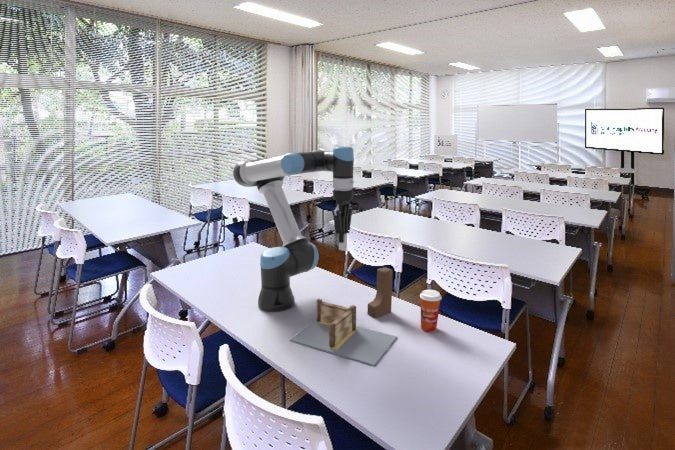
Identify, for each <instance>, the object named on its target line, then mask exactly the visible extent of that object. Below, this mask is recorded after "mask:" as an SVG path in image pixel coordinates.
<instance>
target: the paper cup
mask: <svg viewBox="0 0 675 450" xmlns="http://www.w3.org/2000/svg"><path fill="white" fill-rule="evenodd" d="M419 297H420V329H421V330H422V331H424V332H427V333H433V332H436V331H437V328H438V327H437V326H438V320H439V315H440V314H439V313H440V312H439V311H440V303H441V300H442V299H443V298H442V295H441V294H440V292H439V291H438V290H435V289H425V290H422V291H421V292H420V294H419Z"/></svg>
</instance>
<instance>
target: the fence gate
mask: <svg viewBox="0 0 675 450" xmlns="http://www.w3.org/2000/svg"><path fill="white" fill-rule="evenodd" d="M351 331H352V311H350V310H348V311H347V312H346V313H344V314H343V315H342V316H340V317H339V318H338V319H336V320H335V321H334V322H332V323H330V324H329V346H330V347H335V345H336V344H337V343H338V342H339V341H340V340H342V339H343V338H344V337H345V336H346V335H348V334H349V333H350V332H351Z"/></svg>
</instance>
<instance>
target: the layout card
mask: <svg viewBox="0 0 675 450" xmlns="http://www.w3.org/2000/svg"><path fill="white" fill-rule="evenodd" d="M397 338H398V336H397V335H394V334H393V335H392V334H389V333H385V332H381V331H379V330H378V331H377V330H373V329H369V328H366V327H361V326H359V325H356V330H355V331H351V332H350V333H349V334H348V335H346V336H345V337H344V338H343V339H342V340H340V341H339V342H338V343H337V344H336V345H335V347H330V346H329V324H327V323H323V322H317V318H316V319H314V320H313V321H312V322H310V323H309V324H308V325H307V326H305V327H304V328H302V329H301V330H300V331H299V332H298V333H297V334H295V335H294V336H292V338H290V339H289V342H292V343H294V344H299V345H302V346H305V347H308V348H311V349H315V350H319V351H322V352H325V353H329V354H332V355H335V356H339V357H342V358H346V359H347V360H348V359H349V360H352V361H356V362H359V363H363V364H366V365H368V366H372V367H375V366H376V365H377V364H378V363H379V361H380V360H381V359H382V357H383V356H384V355H385V353H386V352H387V351H388V350H389V349H390V347H391V346H392V344H393V343H394V342H395V341H396V339H397Z"/></svg>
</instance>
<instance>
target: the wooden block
mask: <svg viewBox="0 0 675 450" xmlns="http://www.w3.org/2000/svg"><path fill="white" fill-rule="evenodd" d="M393 273H394V272H393V269H391V268H389V267H386V266H384V267H380V268H377V270H376V293H375V297H374V299H372V301H370V302H368V303H367V311H366V312H367V315H369V316H371V317H373V318H377V317H380V316H383V315H386V314H390V313H392V304H393V303H392V300H393V299H392V298H393V297H392V296H393V275H394V274H393Z"/></svg>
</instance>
